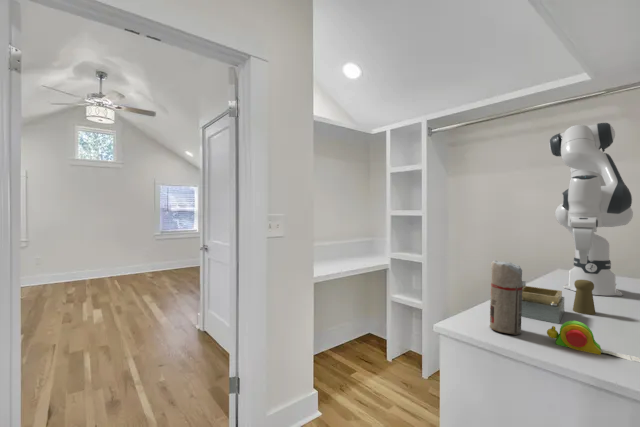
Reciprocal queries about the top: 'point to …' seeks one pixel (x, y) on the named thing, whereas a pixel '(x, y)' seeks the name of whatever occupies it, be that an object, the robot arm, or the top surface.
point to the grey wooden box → (542, 303)
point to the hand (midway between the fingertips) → (584, 262)
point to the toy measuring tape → (581, 339)
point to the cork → (584, 297)
